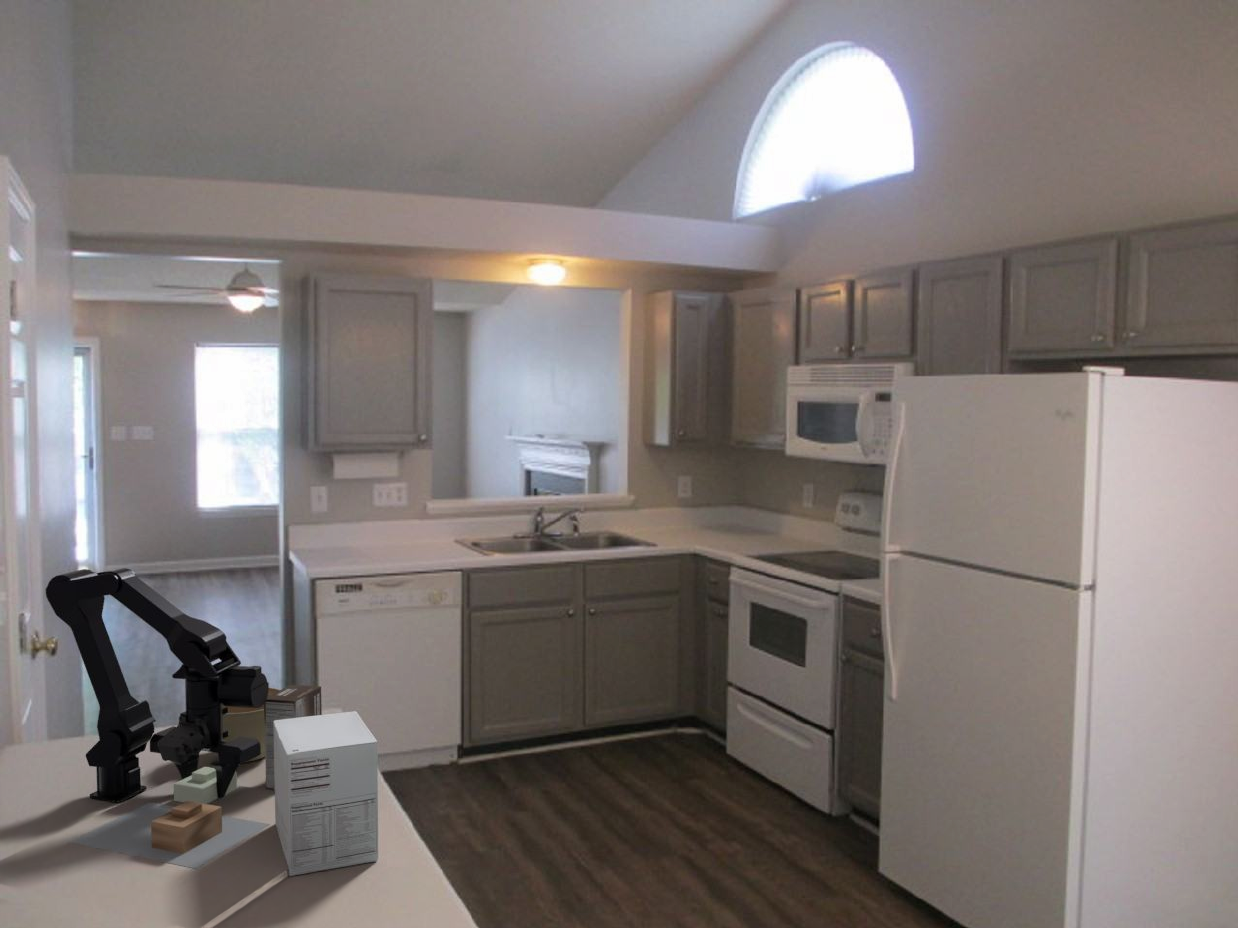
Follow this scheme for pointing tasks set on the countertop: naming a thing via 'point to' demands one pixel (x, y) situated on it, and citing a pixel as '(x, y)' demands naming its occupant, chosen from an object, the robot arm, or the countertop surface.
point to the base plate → (135, 840)
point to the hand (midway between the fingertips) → (205, 794)
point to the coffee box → (287, 716)
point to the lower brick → (186, 827)
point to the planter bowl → (246, 724)
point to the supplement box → (326, 791)
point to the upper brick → (200, 786)
